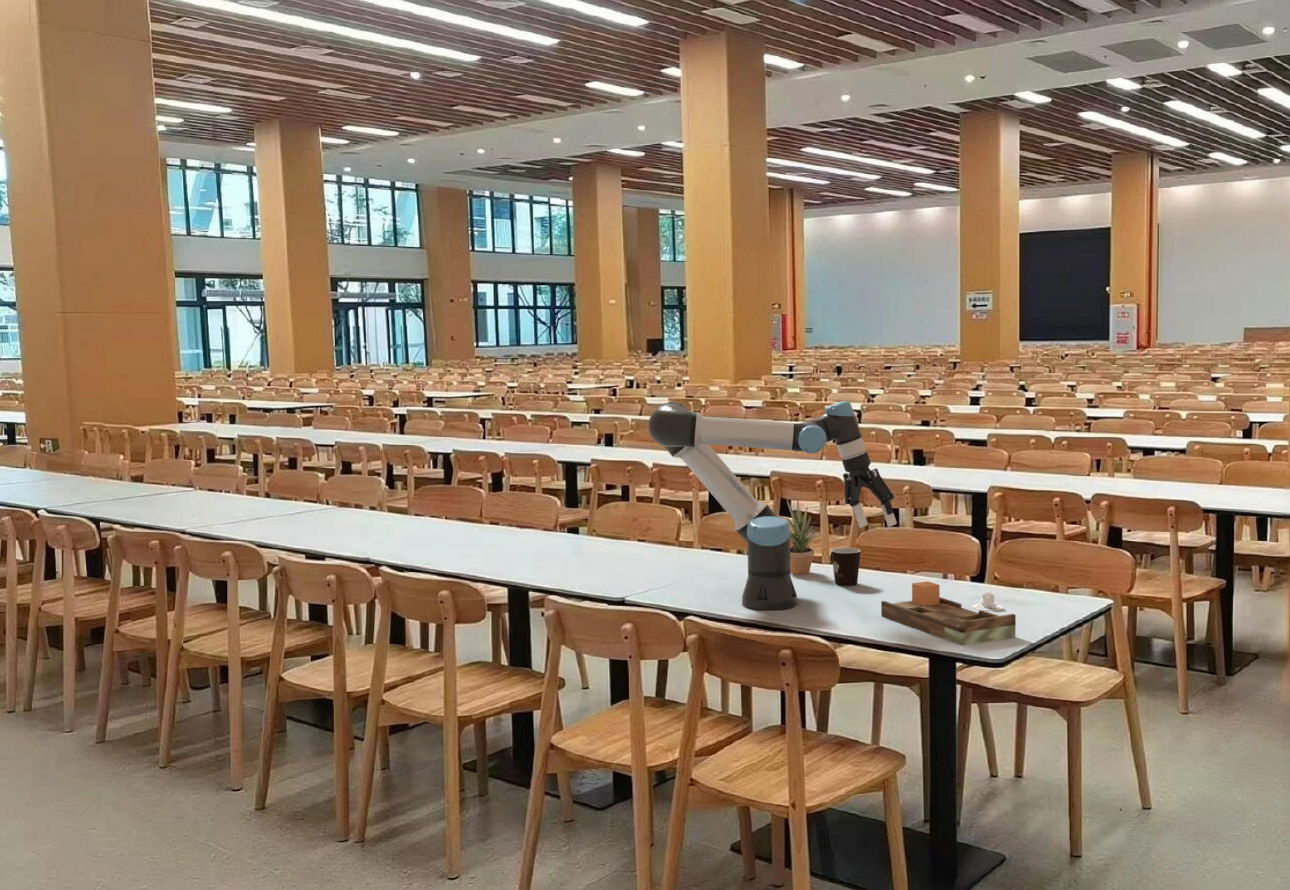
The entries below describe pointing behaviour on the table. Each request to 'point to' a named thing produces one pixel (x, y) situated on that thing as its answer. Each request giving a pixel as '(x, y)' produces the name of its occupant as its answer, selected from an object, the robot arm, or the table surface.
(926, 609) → the board
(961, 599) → the table surface
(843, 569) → the coffee mug
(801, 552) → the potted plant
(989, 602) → the teacup and saucer
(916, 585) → the block
